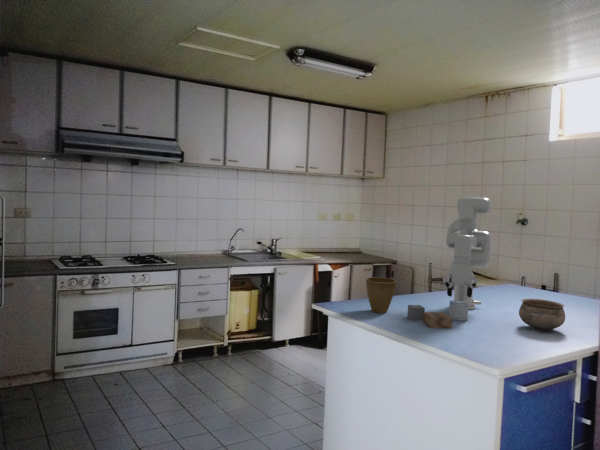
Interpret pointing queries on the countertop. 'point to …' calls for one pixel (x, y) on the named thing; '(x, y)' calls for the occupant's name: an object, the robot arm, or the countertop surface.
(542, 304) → the cooking pot
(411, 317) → the charcoal cube
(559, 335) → the countertop surface
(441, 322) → the walnut block
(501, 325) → the countertop surface
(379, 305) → the plant pot
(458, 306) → the medicine box
